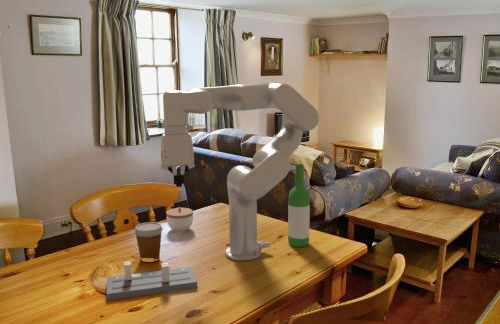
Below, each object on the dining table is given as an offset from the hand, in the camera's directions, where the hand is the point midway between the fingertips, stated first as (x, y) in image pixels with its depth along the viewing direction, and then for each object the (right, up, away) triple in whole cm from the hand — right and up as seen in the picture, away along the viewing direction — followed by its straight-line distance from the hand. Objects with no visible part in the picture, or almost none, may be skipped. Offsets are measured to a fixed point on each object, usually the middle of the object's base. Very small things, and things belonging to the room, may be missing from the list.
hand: (178, 186), depth 153 cm
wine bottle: (+41, -23, +22) cm, 52 cm away
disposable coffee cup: (-11, -26, +10) cm, 30 cm away
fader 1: (-14, -28, -10) cm, 32 cm away
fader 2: (-2, -28, -11) cm, 30 cm away
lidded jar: (-5, -20, +38) cm, 43 cm away
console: (-7, -30, -9) cm, 32 cm away
